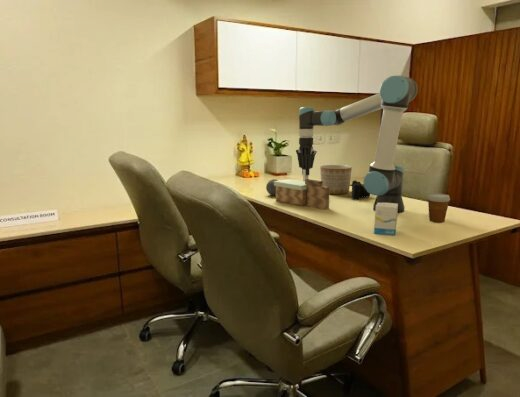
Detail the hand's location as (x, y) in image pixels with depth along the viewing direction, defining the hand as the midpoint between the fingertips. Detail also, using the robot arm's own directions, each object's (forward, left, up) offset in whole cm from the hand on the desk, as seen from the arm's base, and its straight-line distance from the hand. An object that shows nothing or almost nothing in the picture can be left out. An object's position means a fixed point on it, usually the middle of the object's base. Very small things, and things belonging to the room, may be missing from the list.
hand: (305, 181), depth 213 cm
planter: (+11, -40, -13) cm, 43 cm away
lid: (+9, 0, -4) cm, 9 cm away
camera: (-10, -37, -13) cm, 41 cm away
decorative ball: (+30, -6, -13) cm, 34 cm away
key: (-6, 0, -1) cm, 6 cm away
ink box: (-58, +15, -13) cm, 61 cm away
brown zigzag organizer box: (+2, 0, -13) cm, 13 cm away
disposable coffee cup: (-65, -17, -13) cm, 68 cm away
